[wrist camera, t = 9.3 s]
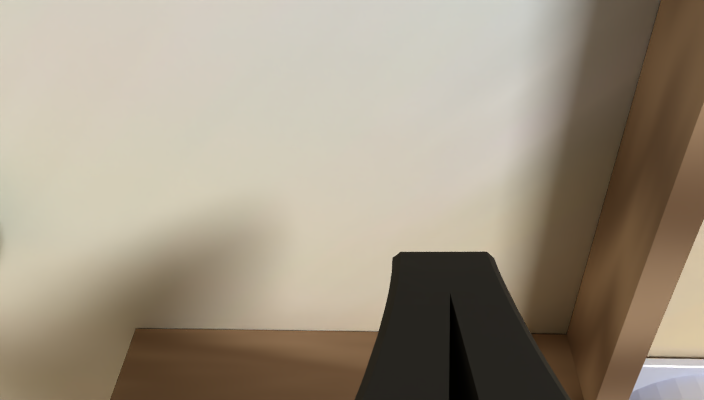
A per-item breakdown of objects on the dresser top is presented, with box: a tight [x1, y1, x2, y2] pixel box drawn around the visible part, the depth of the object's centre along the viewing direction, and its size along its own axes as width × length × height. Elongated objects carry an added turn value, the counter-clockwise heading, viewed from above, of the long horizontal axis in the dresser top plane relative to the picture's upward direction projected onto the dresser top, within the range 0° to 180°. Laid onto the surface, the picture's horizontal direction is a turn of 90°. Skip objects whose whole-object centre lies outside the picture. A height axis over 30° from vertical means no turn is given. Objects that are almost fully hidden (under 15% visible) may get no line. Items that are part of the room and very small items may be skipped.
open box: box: [110, 0, 704, 400], centre depth 18 cm, size 20×17×4 cm
